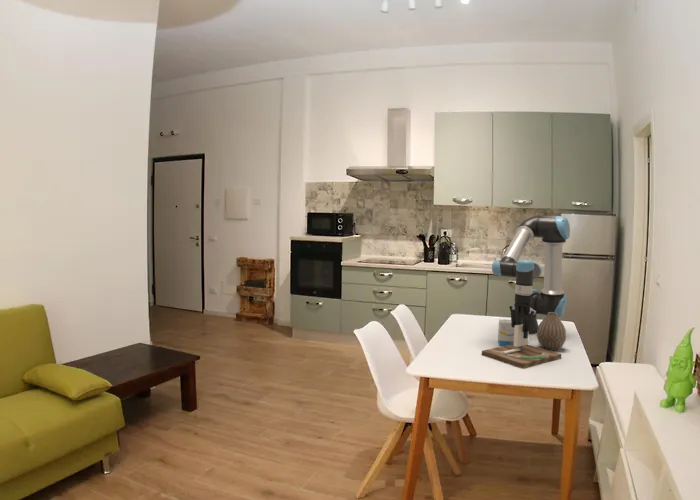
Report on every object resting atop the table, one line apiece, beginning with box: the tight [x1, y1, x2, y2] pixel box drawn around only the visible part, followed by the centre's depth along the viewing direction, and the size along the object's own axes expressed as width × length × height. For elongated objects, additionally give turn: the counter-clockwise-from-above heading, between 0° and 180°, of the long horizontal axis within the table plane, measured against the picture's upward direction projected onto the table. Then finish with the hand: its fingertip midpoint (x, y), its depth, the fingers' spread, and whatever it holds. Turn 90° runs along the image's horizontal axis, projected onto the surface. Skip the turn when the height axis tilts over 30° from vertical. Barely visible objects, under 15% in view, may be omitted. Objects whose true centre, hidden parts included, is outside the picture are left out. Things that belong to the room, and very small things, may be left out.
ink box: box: [497, 318, 514, 347], centre depth 241 cm, size 9×8×12 cm
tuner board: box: [481, 344, 562, 369], centre depth 220 cm, size 28×22×2 cm
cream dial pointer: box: [502, 324, 530, 354], centre depth 220 cm, size 16×2×12 cm, turn 124°
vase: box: [536, 312, 567, 351], centre depth 235 cm, size 13×13×18 cm
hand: (520, 344), depth 223 cm, fingers closed on cream dial pointer, 2 cm apart
